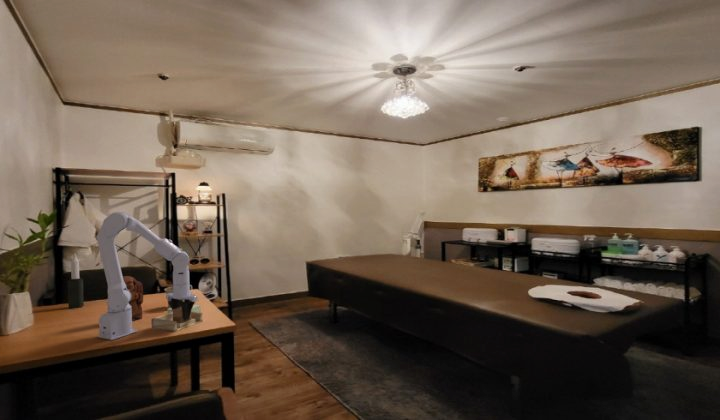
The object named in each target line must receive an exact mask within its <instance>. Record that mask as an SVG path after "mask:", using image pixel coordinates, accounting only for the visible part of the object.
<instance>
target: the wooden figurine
mask: <svg viewBox="0 0 720 420" xmlns="http://www.w3.org/2000/svg"><path fill="white" fill-rule="evenodd" d="M122 276H123V275H122ZM123 280H124V282H125V284H126V287H127V289H128V290H129V291H130V293H131V300H130V301H129V302H128V303H129V305H130V306H132V322H133V321H136V320H138V319H139V320H140V319H143V307H142V305H143V303H144V288H143V287H144V286H143V283H142V282H141V281H138V280H137V279H136V278H135V277H132V276H131V275H130V276H129V275H125V276H123ZM108 309H109V308H108V307H107V310H108Z"/></svg>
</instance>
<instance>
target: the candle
mask: <svg viewBox="0 0 720 420" xmlns="http://www.w3.org/2000/svg"><path fill="white" fill-rule="evenodd" d="M70 269H71V270H70V271H71V277H70V278H69V279H68V281H67V300H68V309H69V310H71V309H72V310H73V309H80V308H83V307H84V305H85V304H84V303H85V300H84V298H85V297H84V279H83V277H80V261H79V259H78V257H77V254H76V253H74V254H73V257H72V260H70Z"/></svg>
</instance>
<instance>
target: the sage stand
mask: <svg viewBox="0 0 720 420" xmlns="http://www.w3.org/2000/svg"><path fill="white" fill-rule="evenodd" d="M191 311H193V312H201V304H200V305H199V304H194V305H193V307H192V310H191ZM172 312H173V311H172V308H169V307H168V308H167V314H169V313H172ZM201 313H202V312H201Z"/></svg>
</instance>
